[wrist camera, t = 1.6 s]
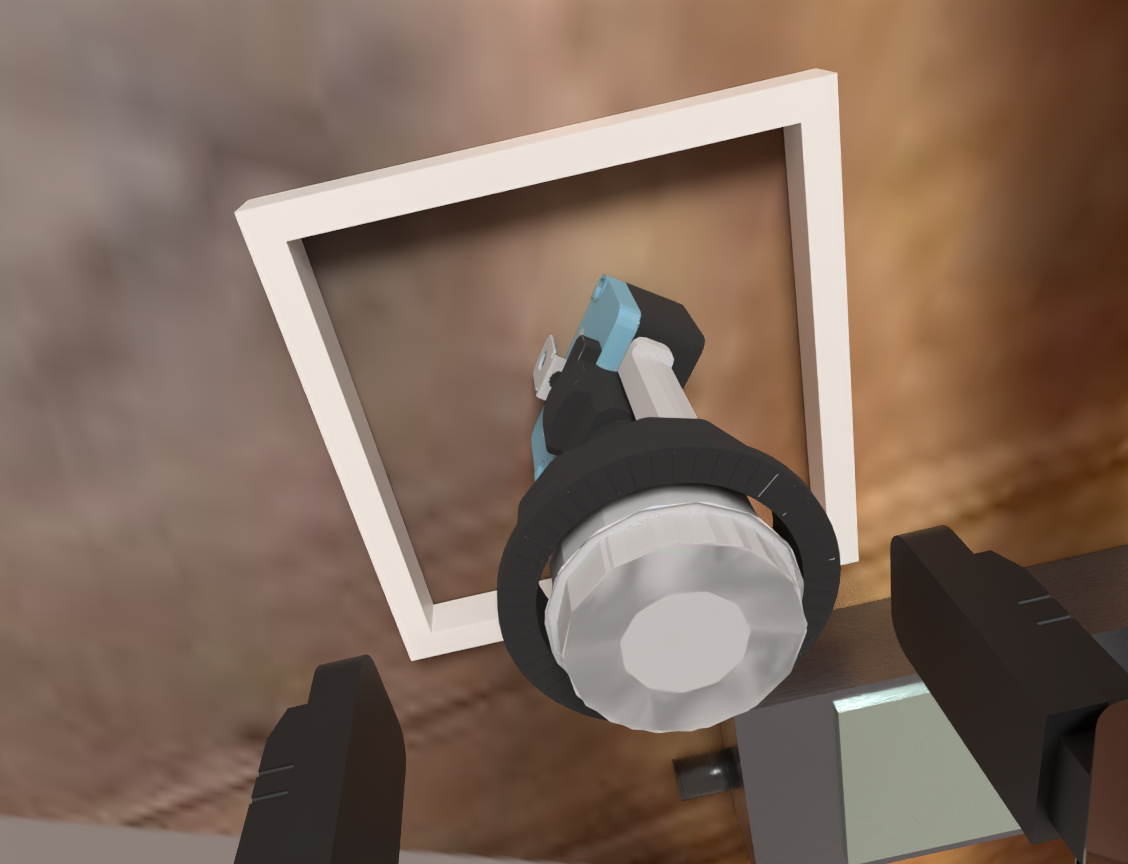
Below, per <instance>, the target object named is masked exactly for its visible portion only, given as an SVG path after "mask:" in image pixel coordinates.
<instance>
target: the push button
mask: <svg viewBox="0 0 1128 864" xmlns="http://www.w3.org/2000/svg"><path fill="white" fill-rule="evenodd" d="M704 343H705V339H704V336H703V334H702V333H701V331H700V330H699V328H698V327H697V325H696V324H695V322H694V321H693V319H692V318H691V316H690V315H689V313H688V312H687V310H686V309H685V307H684V306H683V305H682V304H679V303H677V302H674V301H672V300H669V299H666V298H664V297H661V296H659V295H656V294H654V293H651V292H649V291H646V290H644V289H641V288H638V287H636V286H633V285H631V284H628V283H626V282H622V281H620V280H617V279H615V278H612V277H610V276H607V275H604V274H603V275H602V276H601V278H600V280H599V281H598V283H597V285H596V288H595V290H594V292H593V294H592V300H591V302H590V304H589V307H588V309H587V311H586V313H585V315H584V318H583V320H582V322H581V324H580V327H579V329H578V331H577V333H576V335H575V338H574V340H573V342H572V344H571V347H570V349H569V351H568V353H567V355H566V358H565V359H564V358H561V357H559V356H557V355H555V354H556V347H555V343H554V339H553V336H551V335H550V336H549V337H548V338H547V339H546V342H545V344H544V346H543V349H542V351H541V353H540V356H539V358H538V360H537V362H536V365H535V368H534V372H533V377H534V384H535V390H536V391H537V394H536V396H537V397H538V398H540V399H543V400H546V401H545V404H544V406H543V409H542V411H541V413H540V415H539V418H538V420H537V422H536V424H535V427H534V430H533V433H532V437H531V444H532V452H533V460H534V468H535V473H534V478H535V482H534V484H533V485H532V486H531V488H530V489H529V490H528V491H527V493H526V494H525V495H524V497H523V498H522V500H521V501H520V504H519V508H518V521H517V525H516V526H515V528H514V530H513V532H512V533H511V535H510V537H509V540H508V542H507V544H506V547H505V549H504V552H503V555H502V559H501V562H500V566H499V572H498V578H497V610H498V619H499V625H500V629H501V634H502V637H503V640H504V642H505V645H506V647H507V650H508V652H509V654H510V655H511V657H512V659H513V661H514V662H515V664H516V665H517V667H518V668H519V669H520V671H521V672H522V673H523V675H524V676H525V677H526V678H527V679H528V680H529V681H530V682H531V683H532V684H533V685H534V686H535V687H537V688H538V689H539V690H540V691H541V692H543V693H544V694H545V695H547V696H548V697H550V698H551V699H553V700H554V701H556V702H558V703H560V704H562V705H563V706H565V707H567V708H569V709H572V710H574V711H577V712H579V713H582V714H584V715H587V716H591V717H594V718H598V719H602V720H607V721H610V722H613V723H617V724H621V725H625V726H627V727H629V728H631V729H633V730H646V731H650V732H655V733H664V732H673V731H694V730H697V729H701V728H709V727H711V726H713V725H715V724H718V723H720V722H722V721H724V720H727V719H729V718H731V717H733V716H736V715H738V714H741V713H744V712H747V711H749V710H750V709H751V708H753V707H755V706H757V705H758V704H759V703H760V702H761V701H762V700H763V699H764V698H765V697H766V696H767V695H768V694H769V693H770V692H771V691H772V690H773V689H774V688H775V687H776V686H777V685H778V684H779V683H780V682H781V681H782V680H784V679H785V678H786V677H787V676H788V675H789V674H790V673H791V671H792V668H793V667H794V666H795V665H796V664H797V663H798V662H799V661H800V660H801V659H802V658H803V656H804V655H805V654H806V653H807V652H808V651H809V650H810V648H811V647H812V645H813V644H814V643H815V641H816V640H817V639H818V637H819V635H820V634H821V632H822V630H823V629H824V627H825V625H826V623H827V621H828V619H829V617H830V615H831V612H832V610H833V607H834V604H835V601H836V598H837V593H838V588H839V583H840V571H841V564H840V552H839V546H838V541H837V538H836V535H835V532H834V529H833V526H832V524H831V522H830V520H829V518H828V516H827V514H826V512H825V511H824V509H823V508H822V506H821V505H820V503H819V502H818V500H817V499H816V497H815V496H814V495H813V493H812V492H811V490H810V489H809V487H808V486H807V485H806V484H805V483H804V482H803V481H802V480H801V479H800V478H799V477H798V476H797V475H796V474H795V473H794V472H793V471H791V470H790V469H789V468H788V467H787V466H785V465H784V464H782V463H781V462H779V461H778V460H776V459H775V458H773V457H771V456H769V455H767V454H765V453H763V452H761V451H759V450H757V449H754V448H752V447H749V446H747V445H745V444H743V443H742V442H740V441H739V440H737V439H735V438H734V437H732V436H731V435H729V434H728V433H726V432H724V431H723V430H721V429H720V428H718V427H716V426H715V425H713V424H712V423H710V422H708V421H706V420H703V419H698V418H697V416H696V415H695V413H694V411H693V409H692V407H691V405H690V403H689V401H688V399H687V397H686V395H685V393H684V392H683V388H684V386H685V384H686V382H687V380H688V378H689V376H690V374H691V373H692V371H693V369H694V367H695V365H696V363H697V361H698V359H699V357H700V355H701V353H702V351H703V348H704ZM545 356H546V358H545ZM544 358H545V362H544V364H543V361H544ZM542 364H543V366H542ZM746 495H748V496H750V497H752V498H754V499H756V500H757V501H759V502H760V503H762V504H764V505H765V506H767V507H768V508H769V509H770V510H772V515H773V529H772V528H770V527H769V526H768V525H767V524H766V523H765V522H764V521H762V520H761V519H760V518H758V516H757V514H756V512H755V511H754V509H753V507H752V505H751V503H750V502H749V500H748V498H747V496H746ZM548 559H549V562H550V570H551V578H552V586H553V587H552V590H551V594H550V597H549V599H548V598H547V596H546V595H545V593H544V592H543V590H542V589H541V587H540V585H539V581H540V578H541V575H542V571H543V569H544V567H545V565H546V563H547V561H548Z"/></svg>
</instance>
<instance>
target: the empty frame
mask: <svg viewBox="0 0 1128 864" xmlns="http://www.w3.org/2000/svg"><path fill="white" fill-rule="evenodd" d="M780 127H783V130H784V143H785V156H786V170H787V183H788V196H789V210H790V223H791V236H792V250H793V263H794V277H795V290H796V303H797V317H798V330H799V343H800V357H801V370H802V383H803V397H804V410H805V423H806V437H807V450H808V463H809V477H810V490H811V492H812V493H813V495H814V496H815V497H816V499H817V500H818V502H819V503H820V505H821V506H822V508H823V509H824V511H825V512H826V514H827V516H828V518H829V520H830V522H831V524H832V526H833V529H834V532H835V535H836V538H837V541H838V546H839V552H840V564H841V565H844V564H849V563H853V562H858V561H859V558H858V535H857V513H856V490H855V467H854V444H853V422H852V399H851V376H850V354H849V331H848V308H847V286H846V263H845V240H844V217H843V195H842V172H841V149H840V127H839V104H838V81H837V73H835V72H831V71H826V70H821V69H817V68H815V69H811V70H806V71H802V72H798V73H793V74H789V75H785V76H780V77H776V78H772V79H768V80H763V81H759V82H755V83H750V84H746V85H742V86H737V87H733V88H729V89H724V90H720V91H716V92H711V93H707V94H703V95H699V96H694V97H690V98H686V99H681V100H677V101H673V102H668V103H664V104H660V105H655V106H651V107H647V108H642V109H638V110H634V111H629V112H625V113H621V114H617V115H612V116H608V117H604V118H599V119H595V120H591V121H586V122H582V123H578V124H573V125H569V126H565V127H560V128H556V129H552V130H548V131H543V132H539V133H535V134H530V135H526V136H522V137H517V138H513V139H509V140H504V141H500V142H496V143H491V144H487V145H483V146H478V147H474V148H470V149H466V150H461V151H457V152H453V153H448V154H444V155H440V156H435V157H431V158H427V159H422V160H418V161H414V162H409V163H405V164H401V165H396V166H392V167H388V168H384V169H379V170H375V171H371V172H366V173H362V174H358V175H353V176H349V177H345V178H340V179H336V180H332V181H327V182H323V183H319V184H315V185H310V186H306V187H302V188H297V189H293V190H289V191H284V192H280V193H276V194H271V195H267V196H263V197H258V198H254V199H250V200H248V201H247V202H245V203H244V204H243V205H242V206H241V207H240V208H239V209H238V210H237V211H235V212H234V213H235V216H236V218H237V221H238V223H239V226H240V228H241V231H242V233H243V236H244V238H245V241H246V243H247V246H248V249H249V251H250V254H251V256H252V259H253V261H254V264H255V266H256V269H257V271H258V274H259V276H260V279H261V282H262V284H263V287H264V289H265V292H266V294H267V297H268V299H269V302H270V304H271V307H272V309H273V312H274V314H275V317H276V320H277V322H278V325H279V327H280V330H281V332H282V335H283V337H284V340H285V342H286V345H287V347H288V350H289V352H290V355H291V358H292V360H293V363H294V365H295V368H296V370H297V373H298V375H299V378H300V380H301V383H302V385H303V388H304V390H305V393H306V396H307V398H308V401H309V403H310V406H311V408H312V411H313V413H314V416H315V418H316V421H317V423H318V426H319V429H320V431H321V434H322V436H323V439H324V441H325V444H326V446H327V449H328V451H329V454H330V456H331V459H332V461H333V464H334V467H335V469H336V472H337V474H338V477H339V479H340V482H341V484H342V487H343V489H344V492H345V494H346V497H347V499H348V502H349V505H350V507H351V510H352V512H353V515H354V517H355V520H356V522H357V525H358V527H359V530H360V532H361V535H362V537H363V540H364V543H365V545H366V548H367V550H368V553H369V555H370V558H371V560H372V563H373V565H374V568H375V570H376V573H377V575H378V578H379V581H380V583H381V586H382V588H383V591H384V593H385V596H386V598H387V601H388V603H389V606H390V608H391V611H392V614H393V616H394V619H395V621H396V624H397V626H398V629H399V631H400V634H401V636H402V639H403V641H404V644H405V646H406V649H407V652H408V654H409V657H410V659H411V661H414V660H418V659H423V658H427V657H432V656H436V655H441V654H445V653H450V652H454V651H459V650H463V649H468V648H472V647H477V646H481V645H486V644H490V643H495V642H499V641H504V640H503V637H502V634H501V629H500V625H499V619H498V610H497V591H492V592H488V593H483V594H479V595H474V596H470V597H465V598H461V599H457V600H452V601H448V602H443V603H439V604H434V605H433V602H432V599H431V596H430V594H429V591H428V588H427V585H426V583H425V580H424V577H423V574H422V571H421V569H420V566H419V563H418V560H417V558H416V555H415V552H414V549H413V547H412V544H411V541H410V538H409V536H408V533H407V530H406V527H405V524H404V522H403V519H402V516H401V513H400V511H399V508H398V505H397V502H396V500H395V497H394V494H393V491H392V489H391V486H390V483H389V480H388V477H387V475H386V472H385V469H384V466H383V464H382V461H381V458H380V455H379V453H378V450H377V447H376V444H375V441H374V439H373V436H372V433H371V430H370V428H369V425H368V422H367V419H366V417H365V414H364V411H363V408H362V406H361V403H360V400H359V397H358V394H357V392H356V389H355V386H354V383H353V381H352V378H351V375H350V372H349V370H348V367H347V364H346V361H345V358H344V356H343V353H342V350H341V347H340V345H339V342H338V339H337V336H336V334H335V331H334V328H333V325H332V323H331V320H330V317H329V314H328V311H327V309H326V306H325V303H324V300H323V298H322V295H321V292H320V289H319V287H318V284H317V281H316V278H315V275H314V273H313V270H312V267H311V264H310V262H309V259H308V256H307V253H306V251H305V248H304V245H303V242H302V240H301V238H304V237H308V236H312V235H317V234H321V233H325V232H330V231H334V230H338V229H343V228H347V227H351V226H356V225H360V224H364V223H369V222H373V221H377V220H382V219H386V218H390V217H395V216H399V215H403V214H408V213H412V212H416V211H421V210H425V209H429V208H434V207H438V206H442V205H447V204H451V203H455V202H460V201H464V200H468V199H473V198H477V197H481V196H486V195H490V194H494V193H499V192H503V191H507V190H512V189H516V188H520V187H524V186H529V185H533V184H537V183H542V182H546V181H550V180H555V179H559V178H563V177H568V176H572V175H576V174H581V173H585V172H589V171H594V170H598V169H602V168H607V167H611V166H615V165H620V164H624V163H628V162H633V161H637V160H641V159H646V158H650V157H654V156H659V155H663V154H667V153H672V152H676V151H680V150H685V149H689V148H693V147H698V146H702V145H706V144H711V143H715V142H719V141H724V140H728V139H732V138H737V137H741V136H745V135H750V134H754V133H758V132H763V131H767V130H771V129H776V128H780ZM539 585H540V587H541V589H542V590H543V592H544V593H545V595H546V596H547V598H548V599H549V597H550V594H551V590H552V587H553V586H552V578H550V579H546V580H541V581H539Z"/></svg>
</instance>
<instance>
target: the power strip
mask: <svg viewBox="0 0 1128 864" xmlns="http://www.w3.org/2000/svg"><path fill="white" fill-rule="evenodd" d="M1025 569H1026V570H1027V571H1028V572H1029V573H1030V574H1031V575H1032V576H1033V577H1034V578H1035V579H1036V580H1037V581H1038V582H1039V583H1040V584H1041V585H1042V586H1043V587H1044V588H1045V589H1046V590H1047V591H1048V592H1049V593H1050V597H1051V598H1055V599H1056V600H1057V601H1058V602H1059V603H1060V604H1061V605H1062V606H1063V607H1064V608H1065V609H1066V611H1067V612H1068V613H1069V615H1070V618H1071V619H1075V620H1076V621H1077V622H1078V623H1079V624H1080V625H1081V626H1082V627H1083V628H1084V629H1085V630H1086V631H1087V632H1088V633H1089V634H1090V635H1091V636H1092V637H1093V638H1094V639H1095V640H1096V641H1097V642H1098V643H1099V644H1100V645H1101V646H1102V647H1103V648H1104V649H1105V650H1106V651H1107V652H1108V653H1109V654H1110V655H1111V656H1112V657H1113V659H1114V660H1115V661H1116V662H1117V663H1118V664H1119V665H1120V666H1121V667H1122V668H1123V669H1124V670H1125V671H1126V672H1127V673H1128V545H1125V546H1121V547H1116V548H1112V549H1107V550H1103V551H1098V552H1094V553H1089V554H1085V555H1080V556H1076V557H1071V558H1067V559H1062V560H1058V561H1053V562H1049V563H1044V564H1040V565H1035V566H1031V567H1026V568H1025ZM720 725H721V731H722V737H723V743H724V748H723V749H718V750H714V751H709V752H705V753H700V754H696V755H691V756H687V757H682V758H678V759H673V760H672V762H673V767H674V771H675V776H676V780H677V784H678V788H679V792H680V796H681V800H682V801H684V800H688V799H693V798H697V797H702V796H706V795H711V794H715V793H720V792H725V791H729V790H731V793H732V799H733V805H734V810H735V813H736V817H737V820H738V823H739V826H740V829H741V832H742V836H743V839H744V842H745V845H746V848H747V851H748V854H749V858H750V861H751V864H886V863H891V862H895V861H900V860H905V859H909V858H914V857H918V856H923V855H928V854H932V853H937V852H941V851H946V850H951V849H955V848H960V847H964V846H969V845H973V844H978V843H983V842H987V841H992V840H996V839H1001V838H1006V837H1010V836H1015V835H1019V834H1024V832H1023V831H1022V829H1021V828H1020V826H1019V825H1018V823H1017V822H1016V820H1015V819H1014V817H1013V816H1012V814H1011V813H1010V811H1009V810H1008V808H1007V807H1006V805H1005V804H1004V802H1003V801H1002V799H1001V798H1000V796H999V795H998V793H997V792H996V790H995V789H994V787H993V786H992V784H991V783H990V781H989V780H988V778H987V777H986V775H985V774H984V772H983V771H982V769H981V768H980V766H979V765H978V763H977V762H976V760H975V759H974V757H973V756H972V754H971V753H970V751H969V750H968V748H967V747H966V746H965V744H964V743H963V741H962V740H961V738H960V737H959V735H958V734H957V732H956V731H955V729H954V728H953V726H952V725H951V723H950V722H949V720H948V719H947V717H946V716H945V714H944V713H943V711H942V710H941V708H940V707H939V705H938V704H937V702H936V701H935V699H934V698H933V696H932V695H931V693H930V692H929V690H928V689H927V687H926V686H925V684H924V683H923V681H922V680H921V678H920V677H919V675H918V674H917V672H916V671H915V669H914V668H913V666H912V665H911V663H910V662H909V660H908V659H907V657H906V656H905V654H904V652H903V650H902V648H901V646H900V644H899V642H898V639H897V637H896V633H895V630H894V626H893V622H892V616H891V598H887V599H883V600H878V601H874V602H869V603H865V604H860V605H856V606H851V607H847V608H842V609H838V610H833V611H832V612H831V615H830V617H829V619H828V621H827V623H826V625H825V627H824V629H823V630H822V632H821V634H820V635H819V637H818V639H817V640H816V641H815V643H814V644H813V645H812V647H811V648H810V650H809V651H808V652H807V653H806V654H805V655H804V656H803V658H802V659H801V660H800V661H799V662H798V663H797V664H796V665H795V666H794V667H793V668H792V671H791V673H790V674H789V675H788V676H787V677H786V678H785V679H784V680H782V681H781V682H780V683H779V684H778V685H777V686H776V687H775V688H774V689H773V690H772V691H771V692H770V693H769V694H768V695H767V696H766V697H765V698H764V699H763V700H762V701H761V702H760V703H759V704H758V705H757V706H755V707H753V708H751V709H750V710H749V711H747V712H744V713H741V714H738V715H736V716H733V717H731V718H729V719H727V720H724V721H722V722H720Z"/></svg>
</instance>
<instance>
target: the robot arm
mask: <svg viewBox="0 0 1128 864" xmlns="http://www.w3.org/2000/svg"><path fill="white" fill-rule="evenodd" d="M890 557H891V616H892V622H893V626H894V630H895V633H896V637H897V639H898V642H899V644H900V646H901V648H902V650H903V652H904V654H905V656H906V657H907V659H908V660H909V662H910V663H911V665H912V666H913V668H914V669H915V671H916V672H917V674H918V675H919V677H920V678H921V680H922V681H923V683H924V684H925V686H926V687H927V689H928V690H929V692H930V693H931V695H932V696H933V698H934V699H935V701H936V702H937V704H938V705H939V707H940V708H941V710H942V711H943V713H944V714H945V716H946V717H947V719H948V720H949V722H950V723H951V725H952V726H953V728H954V729H955V731H956V732H957V734H958V735H959V737H960V738H961V740H962V741H963V743H964V744H965V746H966V747H967V748H968V750H969V751H970V753H971V754H972V756H973V757H974V759H975V760H976V762H977V763H978V765H979V766H980V768H981V769H982V771H983V772H984V774H985V775H986V777H987V778H988V780H989V781H990V783H991V784H992V786H993V787H994V789H995V790H996V792H997V793H998V795H999V796H1000V798H1001V799H1002V801H1003V802H1004V804H1005V805H1006V807H1007V808H1008V810H1009V811H1010V813H1011V814H1012V816H1013V817H1014V819H1015V820H1016V822H1017V823H1018V825H1019V826H1020V828H1021V829H1022V831H1023V832H1024V834H1025V835H1026V837H1027V838H1028V840H1029V841H1030V843H1031V844H1032V845H1033V844H1037V843H1042V842H1046V841H1050V840H1055V839H1059V838H1062V839H1063V840H1064V841H1065V843H1066V844H1067V846H1068V847H1069V849H1070V850H1071V851H1072V853H1073V854H1074V856H1075V857H1076V861H1075V864H1128V673H1127V672H1126V671H1125V670H1124V669H1123V668H1122V667H1121V666H1120V665H1119V664H1118V663H1117V662H1116V661H1115V660H1114V659H1113V657H1112V656H1111V655H1110V654H1109V653H1108V652H1107V651H1106V650H1105V649H1104V648H1103V647H1102V646H1101V645H1100V644H1099V643H1098V642H1097V641H1096V640H1095V639H1094V638H1093V637H1092V636H1091V635H1090V634H1089V633H1088V632H1087V631H1086V630H1085V629H1084V628H1083V627H1082V626H1081V625H1080V624H1079V623H1078V622H1077V621H1076V620H1075V619H1071V618H1070V615H1069V613H1068V612H1067V611H1066V609H1065V608H1064V607H1063V606H1062V605H1061V604H1060V603H1059V602H1058V601H1057V600H1056V599H1055V598H1051V597H1050V593H1049V592H1048V591H1047V590H1046V589H1045V588H1044V587H1043V586H1042V585H1041V584H1040V583H1039V582H1038V581H1037V580H1036V579H1035V578H1034V577H1033V576H1032V575H1031V574H1030V573H1029V572H1028V571H1027V570H1026V569H1025V568H1023V567H1022V566H1020V565H1018V564H1016V563H1014V562H1012V561H1010V560H1008V559H1006V558H1004V557H1003V556H1001V555H999V554H997V553H995V552H993V551H991V550H990V551H985V552H981V553H976V554H973V552H972V551H971V550H970V549H969V548H968V547H967V546H966V545H965V544H964V543H963V541H962V540H961V539H960V538H959V537H958V536H957V535H956V534H955V533H954V532H953V531H952V530H951V529H950V528H949V527H947V526H945V525H941V526H936V527H932V528H928V529H923V530H919V531H914V532H910V533H906V534H901V535H897V536H894V537H893V538H892V541H891V547H890ZM405 771H406V753H405V745H404V739H403V734H402V730H401V727H400V724H399V721H398V719H397V716H396V714H395V711H394V709H393V707H392V704H391V702H390V699H389V697H388V695H387V692H386V690H385V687H384V685H383V683H382V680H381V678H380V675H379V673H378V671H377V668H376V666H375V664H374V661H373V660H372V658H371V657H370V656H369V655H362V656H358V657H353V658H349V659H345V660H340V661H336V662H331V663H327V664H323V665H319V666H318V667H317V668H316V670H315V673H314V677H313V682H312V686H311V691H310V695H309V700H308V704H305V705H301V706H296V707H292V708H288V709H287V711H286V712H285V713H284V715H283V716H282V718H281V719H280V721H279V722H278V724H277V725H276V727H275V728H274V730H273V731H272V732H271V734H270V735H269V737H268V738H267V741H266V744H265V748H264V752H263V756H262V759H261V763H260V767H259V777H257V778H256V782H255V786H254V790H253V793H252V797H251V798H252V804H250V805H249V808H248V812H247V816H246V820H245V823H244V827H243V831H242V835H241V838H240V842H239V846H238V850H237V853H236V857H235V861H234V864H398V862H399V850H400V837H401V824H402V811H403V797H404V784H405Z"/></svg>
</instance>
